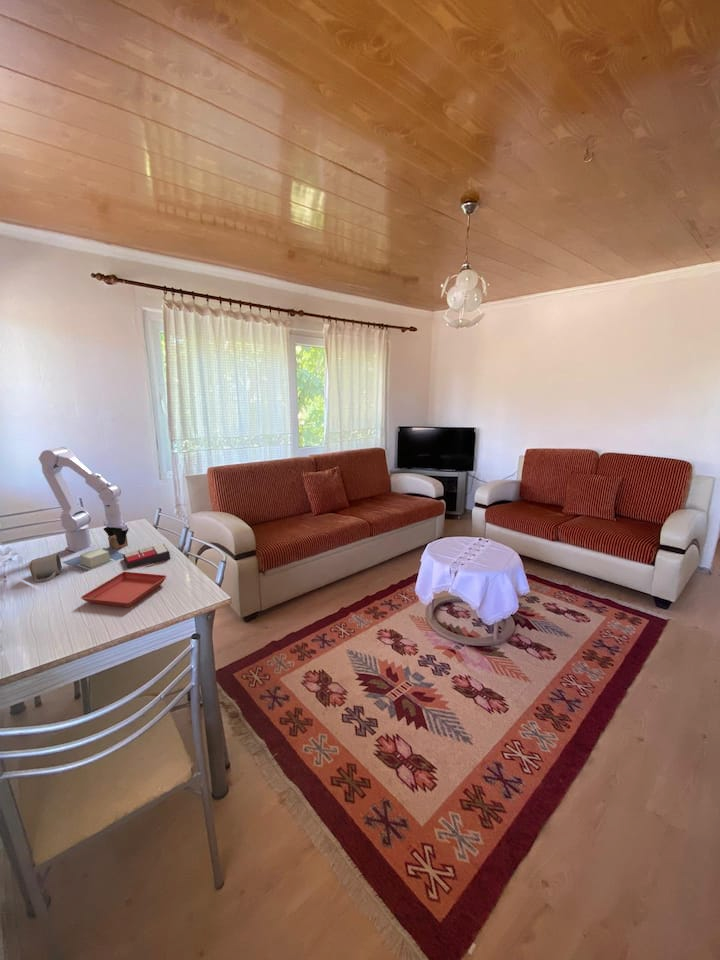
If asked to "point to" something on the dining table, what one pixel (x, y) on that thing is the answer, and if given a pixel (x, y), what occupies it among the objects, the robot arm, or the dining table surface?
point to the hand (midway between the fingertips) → (118, 543)
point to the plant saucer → (124, 589)
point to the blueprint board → (113, 557)
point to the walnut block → (116, 542)
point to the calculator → (146, 555)
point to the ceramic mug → (45, 567)
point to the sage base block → (95, 558)
